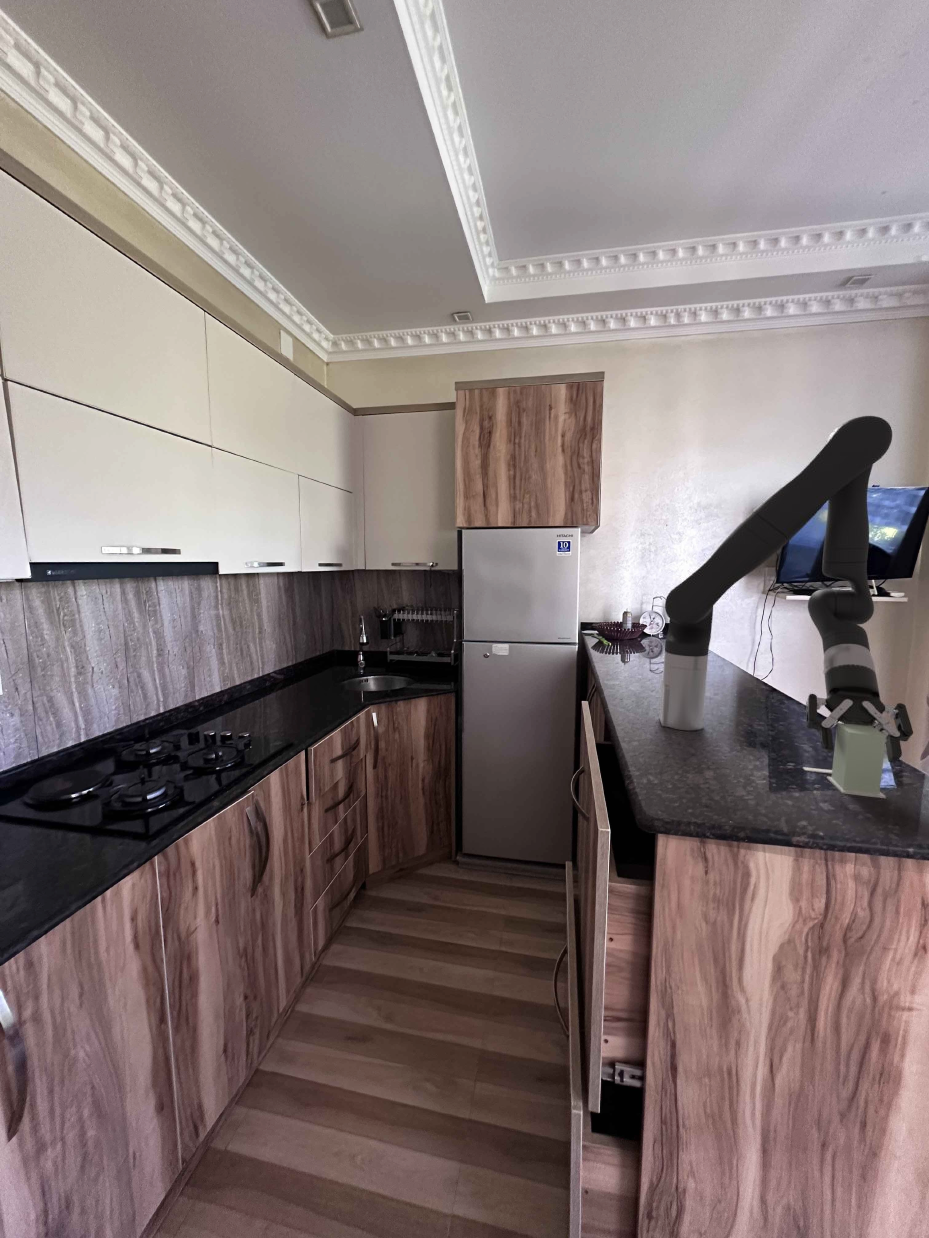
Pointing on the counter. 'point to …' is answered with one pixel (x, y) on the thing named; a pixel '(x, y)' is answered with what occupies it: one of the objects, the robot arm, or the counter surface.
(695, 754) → the counter surface
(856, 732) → the sage block
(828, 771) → the pale grey thin rod
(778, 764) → the counter surface
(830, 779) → the mat
